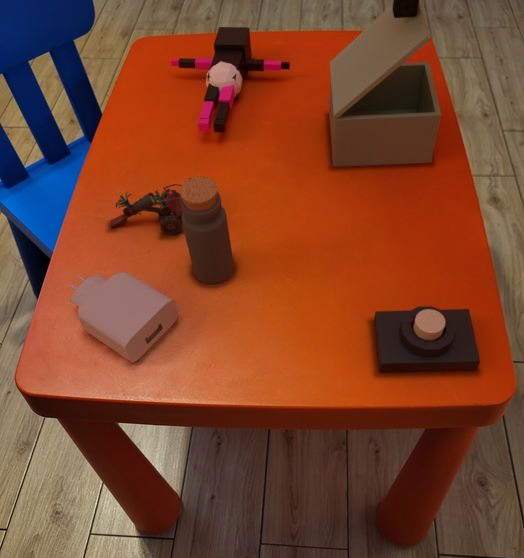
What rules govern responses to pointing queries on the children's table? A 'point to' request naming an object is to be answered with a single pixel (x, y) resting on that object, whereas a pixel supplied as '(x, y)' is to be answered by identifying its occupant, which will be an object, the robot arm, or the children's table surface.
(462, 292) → the children's table surface
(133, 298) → the charger
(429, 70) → the chest
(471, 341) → the control block
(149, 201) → the toy vehicle
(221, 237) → the bottle
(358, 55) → the lid
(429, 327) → the button
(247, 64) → the blocky doll
